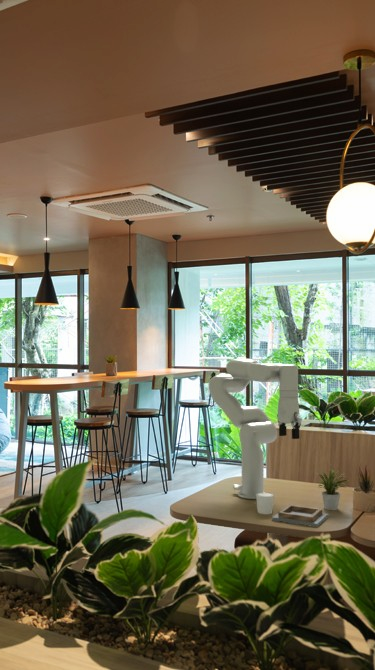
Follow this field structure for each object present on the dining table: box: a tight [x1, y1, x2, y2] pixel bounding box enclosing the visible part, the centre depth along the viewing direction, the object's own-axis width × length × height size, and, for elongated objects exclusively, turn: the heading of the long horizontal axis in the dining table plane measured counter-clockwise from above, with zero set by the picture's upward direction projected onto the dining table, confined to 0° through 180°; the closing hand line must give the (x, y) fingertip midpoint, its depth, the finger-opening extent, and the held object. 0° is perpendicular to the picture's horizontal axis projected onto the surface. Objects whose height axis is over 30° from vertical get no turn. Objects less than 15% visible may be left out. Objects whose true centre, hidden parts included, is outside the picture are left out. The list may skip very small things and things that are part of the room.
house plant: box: [315, 466, 351, 511], centre depth 241 cm, size 14×14×16 cm
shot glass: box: [255, 492, 275, 515], centre depth 235 cm, size 7×7×7 cm
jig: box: [271, 504, 329, 528], centre depth 227 cm, size 17×15×3 cm
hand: (289, 437), depth 244 cm, fingers open, 9 cm apart
